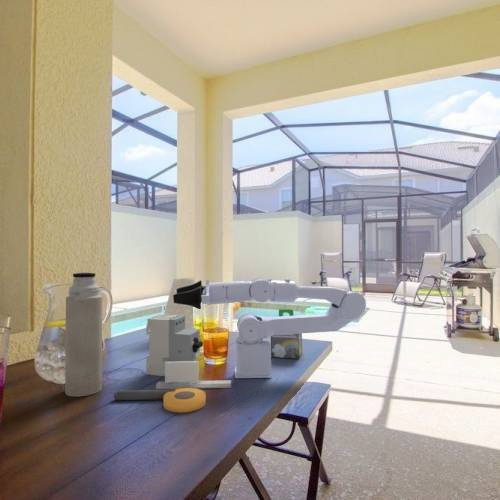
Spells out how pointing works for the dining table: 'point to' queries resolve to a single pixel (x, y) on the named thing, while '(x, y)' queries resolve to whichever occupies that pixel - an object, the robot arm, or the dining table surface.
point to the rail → (194, 384)
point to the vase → (180, 308)
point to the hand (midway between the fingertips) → (175, 295)
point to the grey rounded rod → (141, 394)
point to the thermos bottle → (83, 337)
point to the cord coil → (184, 400)
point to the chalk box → (286, 342)
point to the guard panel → (181, 371)
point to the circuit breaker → (170, 342)
